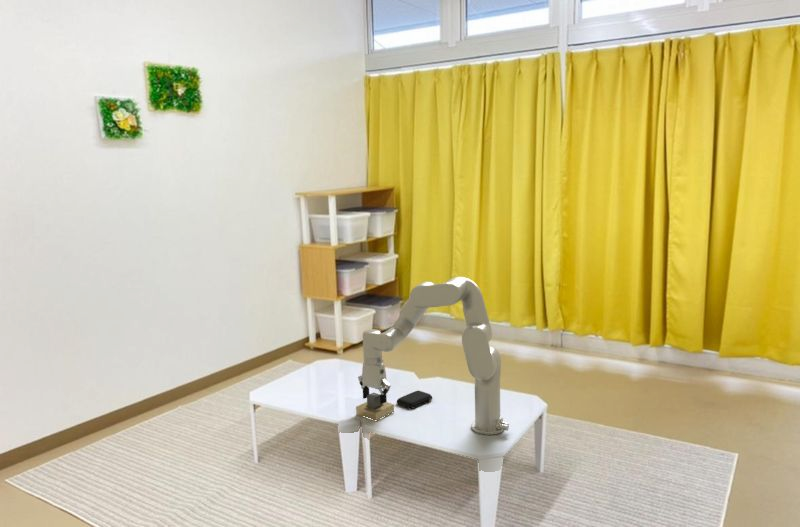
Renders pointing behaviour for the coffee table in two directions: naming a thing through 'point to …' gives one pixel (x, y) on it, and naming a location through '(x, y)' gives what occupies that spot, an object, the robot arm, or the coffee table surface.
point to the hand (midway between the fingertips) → (374, 400)
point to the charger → (373, 401)
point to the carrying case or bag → (414, 399)
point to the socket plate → (374, 410)
